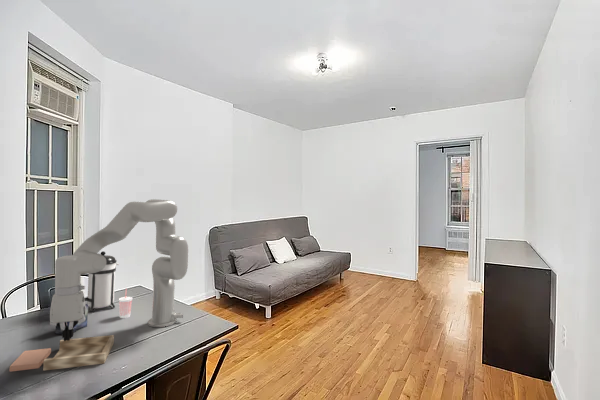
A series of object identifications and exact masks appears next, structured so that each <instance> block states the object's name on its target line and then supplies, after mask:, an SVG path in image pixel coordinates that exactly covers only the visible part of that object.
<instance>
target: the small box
mask: <svg viewBox="0 0 600 400" xmlns="http://www.w3.org/2000/svg"><path fill="white" fill-rule="evenodd" d="M85 306H86V314H85V315H84V316H85V321H84V322H82V323H78V324H77V325H76V326H74V327H73V333H76V332H77V331H79V330H82V329H84V328H87V327H88V315H89V313H88V312H89V307H88V304H87V303H85ZM69 323H70V321H69V322H67V326H68V327H69ZM54 334H56V335H61V336H62V330H61V328H59V327H58V326H55V330H54Z"/></svg>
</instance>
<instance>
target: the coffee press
mask: <svg viewBox="0 0 600 400" xmlns="http://www.w3.org/2000/svg"><path fill="white" fill-rule="evenodd" d="M99 254H101V255H102V256H104V257H105V259H106V266H105V267H104V269H102V270H101V271H99V272H96V273H89V274H88V278H87V279H88V280H87V296H86V297H85V302H86V304H88V308H89V309H88V312H89V313H94V312H95V310H96V309H102V308H107V307H109V308H110V309H112V310H113V309H115V308H116V306H115V304H114V302H115V285H116V282H115V281H116V271H117V270H116V269H117V267H116V266H119V265H120V263H118V262H117V258H116V257H114V256H113V255H107V254H106V251H101V252H100V253H99Z"/></svg>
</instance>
